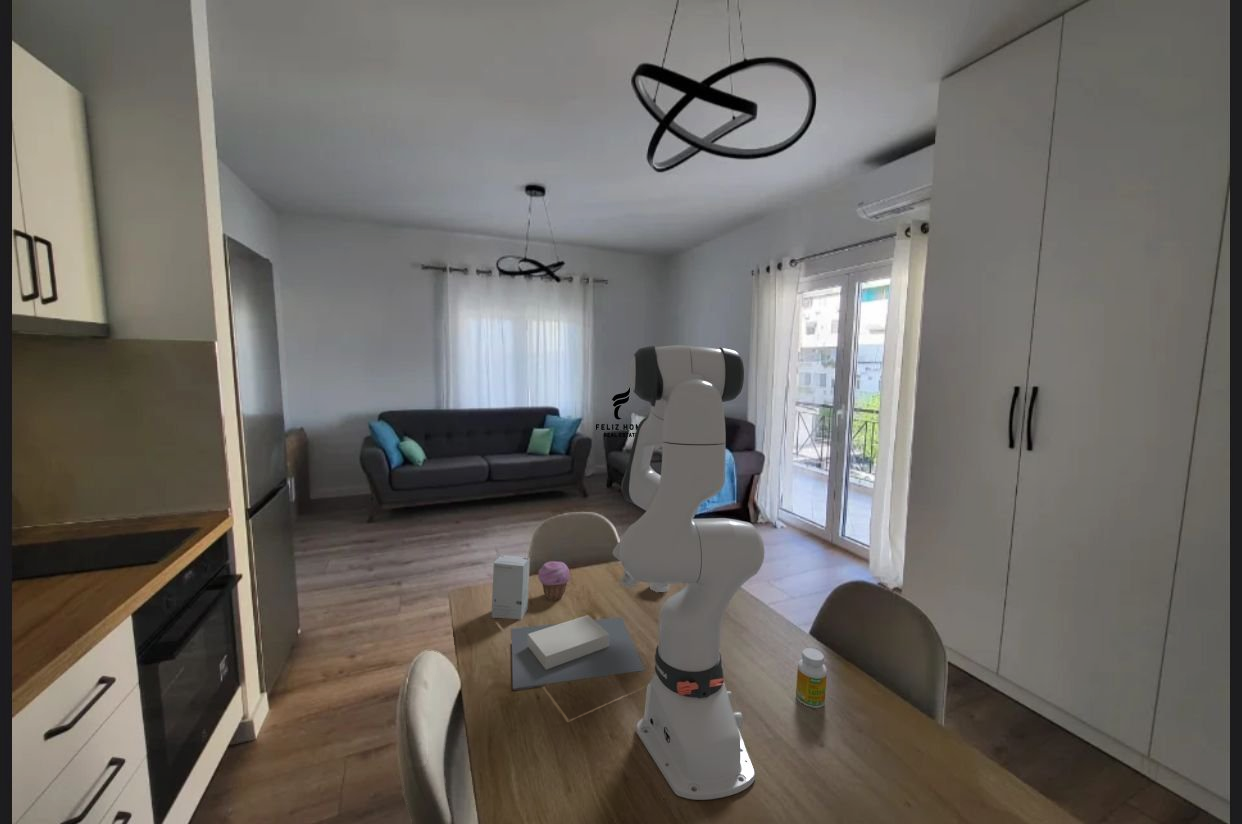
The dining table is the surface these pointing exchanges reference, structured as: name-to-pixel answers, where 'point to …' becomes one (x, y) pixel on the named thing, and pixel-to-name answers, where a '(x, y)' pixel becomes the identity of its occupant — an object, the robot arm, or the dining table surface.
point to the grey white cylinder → (659, 588)
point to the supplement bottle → (811, 678)
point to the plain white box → (567, 641)
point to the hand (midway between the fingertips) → (624, 585)
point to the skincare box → (510, 587)
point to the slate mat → (595, 664)
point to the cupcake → (554, 579)
